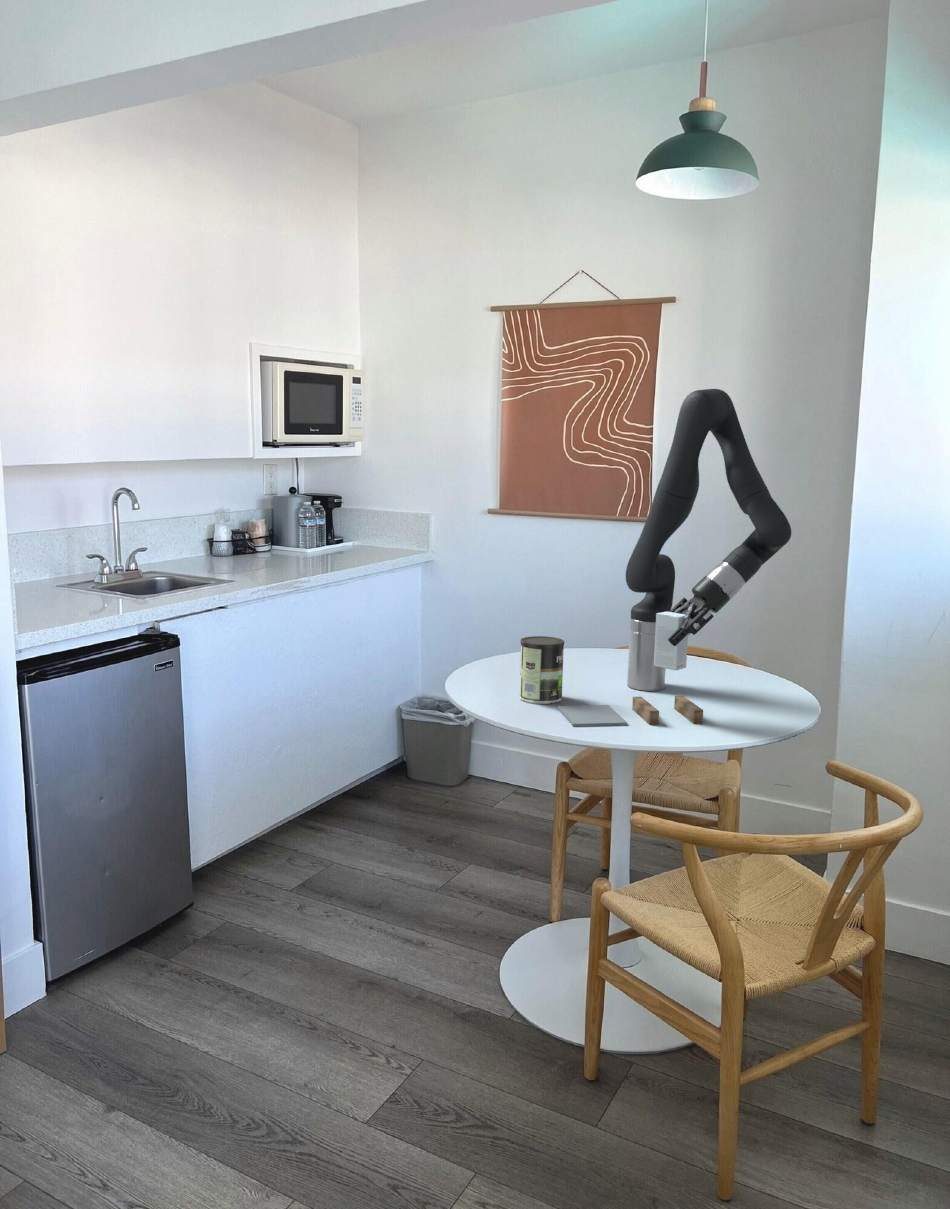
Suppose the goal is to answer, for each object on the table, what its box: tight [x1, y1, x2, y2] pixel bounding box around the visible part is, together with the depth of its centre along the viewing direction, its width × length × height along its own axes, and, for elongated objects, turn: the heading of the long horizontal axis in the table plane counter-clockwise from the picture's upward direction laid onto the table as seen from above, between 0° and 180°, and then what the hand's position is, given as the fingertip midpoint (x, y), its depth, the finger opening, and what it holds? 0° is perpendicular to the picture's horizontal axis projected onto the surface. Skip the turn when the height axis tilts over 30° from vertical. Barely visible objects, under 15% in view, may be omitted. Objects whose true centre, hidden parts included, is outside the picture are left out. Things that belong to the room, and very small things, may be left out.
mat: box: [557, 704, 628, 728], centre depth 209 cm, size 14×12×1 cm
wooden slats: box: [631, 695, 704, 726], centre depth 210 cm, size 12×12×3 cm
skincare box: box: [654, 612, 689, 671], centre depth 208 cm, size 6×4×12 cm
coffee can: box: [518, 635, 565, 705], centre depth 222 cm, size 10×10×14 cm
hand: (664, 639), depth 207 cm, fingers closed on skincare box, 7 cm apart
